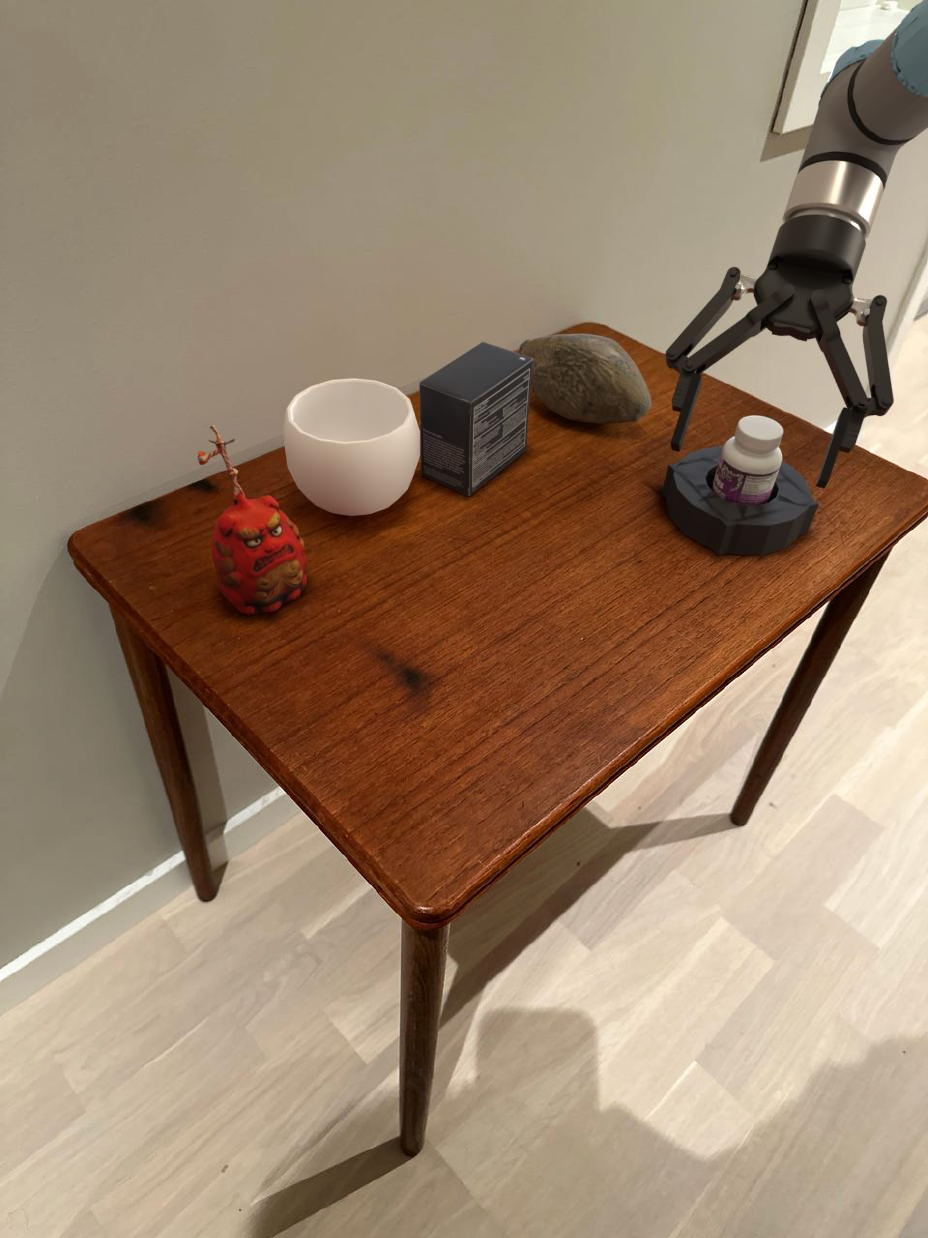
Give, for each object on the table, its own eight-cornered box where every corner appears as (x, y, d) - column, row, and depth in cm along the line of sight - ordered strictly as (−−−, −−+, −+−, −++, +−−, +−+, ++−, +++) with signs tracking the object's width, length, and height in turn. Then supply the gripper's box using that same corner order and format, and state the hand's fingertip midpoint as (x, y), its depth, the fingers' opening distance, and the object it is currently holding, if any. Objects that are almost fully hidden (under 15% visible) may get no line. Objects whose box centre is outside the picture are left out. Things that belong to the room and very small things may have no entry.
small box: (477, 429, 93) (482, 337, 86) (528, 451, 90) (537, 357, 83) (416, 474, 87) (415, 378, 79) (469, 498, 84) (473, 402, 77)
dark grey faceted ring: (827, 538, 81) (839, 508, 79) (713, 567, 78) (722, 537, 75) (749, 466, 89) (758, 437, 87) (643, 489, 86) (649, 459, 83)
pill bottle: (696, 500, 85) (719, 413, 78) (745, 493, 86) (772, 407, 79) (721, 534, 81) (748, 446, 74) (772, 526, 82) (803, 439, 75)
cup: (439, 521, 81) (440, 431, 74) (311, 550, 78) (300, 459, 71) (395, 452, 89) (392, 365, 83) (277, 476, 86) (264, 387, 79)
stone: (665, 419, 95) (680, 352, 90) (624, 453, 90) (637, 384, 85) (539, 369, 103) (545, 304, 97) (494, 398, 98) (498, 331, 92)
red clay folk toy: (253, 632, 70) (223, 478, 60) (201, 591, 73) (164, 438, 63) (325, 587, 74) (309, 436, 64) (273, 550, 77) (249, 400, 67)
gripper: (959, 278, 77) (882, 509, 77) (687, 228, 83) (618, 442, 84) (985, 237, 70) (900, 492, 70) (686, 186, 76) (610, 420, 77)
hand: (746, 465), depth 77 cm, fingers open, 12 cm apart
